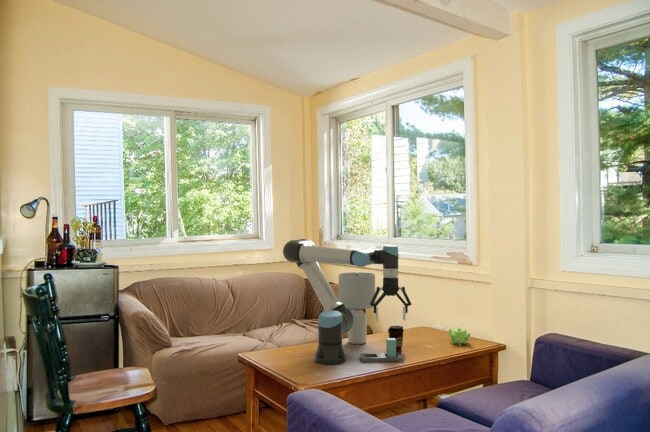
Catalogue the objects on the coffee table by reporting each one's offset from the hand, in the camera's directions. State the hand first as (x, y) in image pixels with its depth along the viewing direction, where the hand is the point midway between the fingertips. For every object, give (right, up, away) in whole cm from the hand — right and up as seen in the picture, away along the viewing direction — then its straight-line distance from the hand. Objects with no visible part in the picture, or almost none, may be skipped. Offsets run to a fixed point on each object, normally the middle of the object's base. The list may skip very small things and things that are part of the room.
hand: (390, 319), depth 255 cm
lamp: (-14, -20, +34) cm, 42 cm away
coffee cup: (+5, -20, +14) cm, 25 cm away
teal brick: (0, -19, 0) cm, 19 cm away
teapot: (+41, -19, +30) cm, 54 cm away
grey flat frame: (-5, -19, 0) cm, 20 cm away
